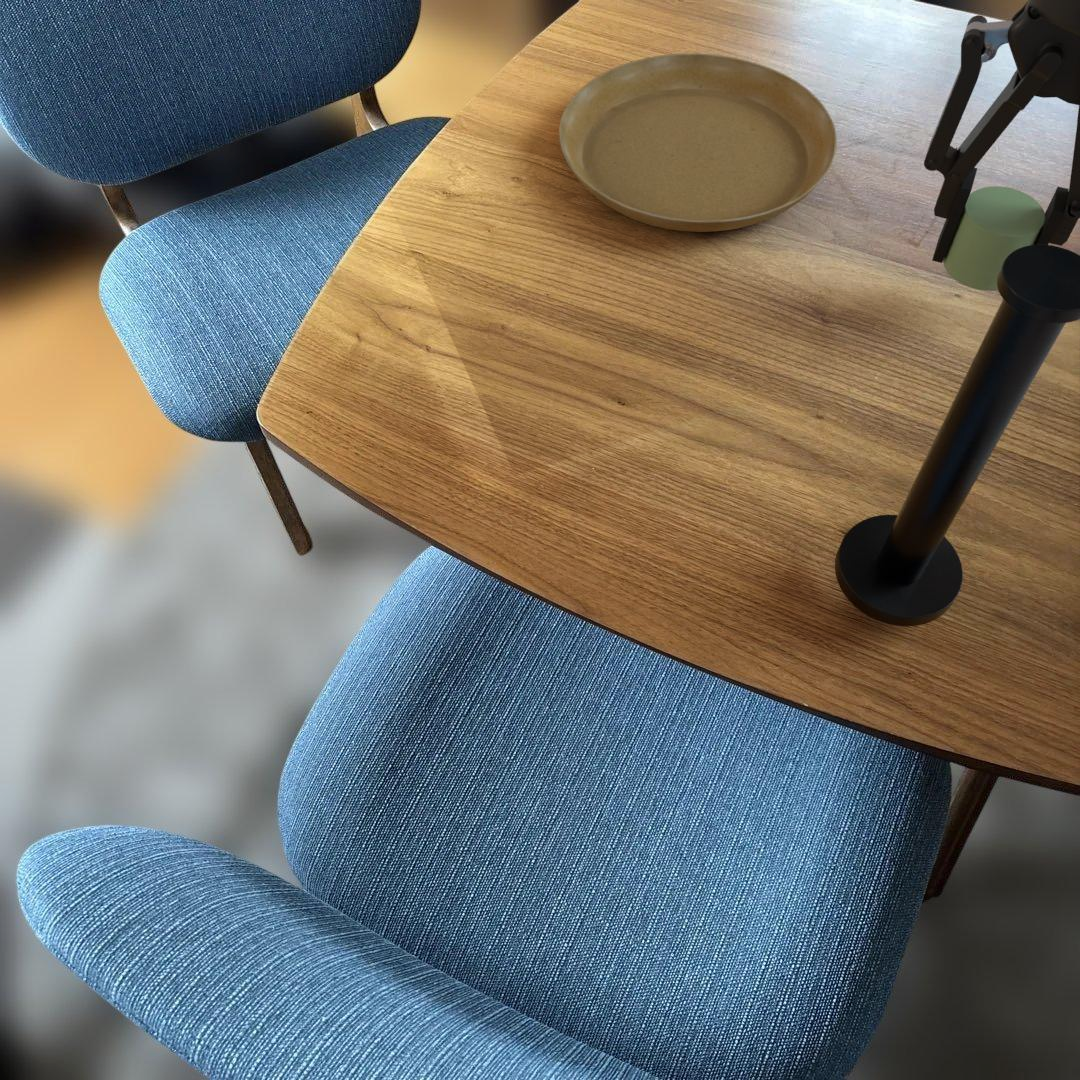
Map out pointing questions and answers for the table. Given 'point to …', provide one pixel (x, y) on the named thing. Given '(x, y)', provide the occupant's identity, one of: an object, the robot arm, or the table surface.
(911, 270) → the table surface
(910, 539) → the stand
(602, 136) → the plant saucer
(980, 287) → the sage green cylinder
